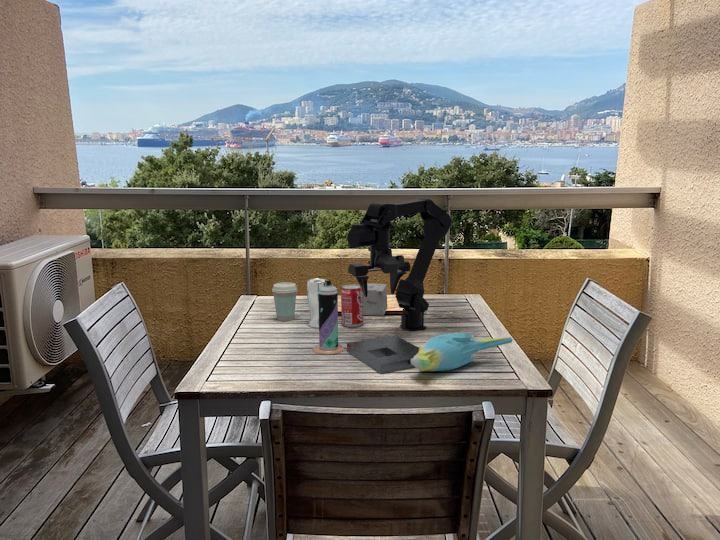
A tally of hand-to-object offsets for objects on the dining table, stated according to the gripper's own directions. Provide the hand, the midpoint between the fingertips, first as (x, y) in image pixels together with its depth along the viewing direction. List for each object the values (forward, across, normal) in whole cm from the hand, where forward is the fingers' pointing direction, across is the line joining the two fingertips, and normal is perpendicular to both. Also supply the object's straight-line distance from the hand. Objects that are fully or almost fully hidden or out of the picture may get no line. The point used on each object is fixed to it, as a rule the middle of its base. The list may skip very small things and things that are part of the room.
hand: (379, 295), depth 187 cm
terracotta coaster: (+13, -19, -4) cm, 23 cm away
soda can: (+13, -2, +15) cm, 20 cm away
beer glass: (+13, -12, +20) cm, 27 cm away
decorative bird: (+13, +4, -37) cm, 39 cm away
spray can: (+13, -19, -4) cm, 23 cm away
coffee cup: (+13, -19, +32) cm, 40 cm away
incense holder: (+13, +10, +24) cm, 29 cm away
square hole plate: (+13, -7, -18) cm, 23 cm away
